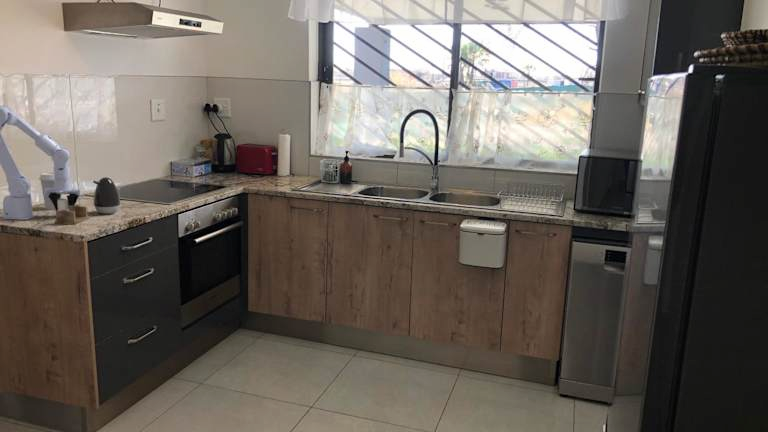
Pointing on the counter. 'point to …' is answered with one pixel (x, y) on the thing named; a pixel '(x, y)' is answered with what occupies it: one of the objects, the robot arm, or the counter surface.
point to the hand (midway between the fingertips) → (65, 211)
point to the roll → (62, 203)
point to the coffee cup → (48, 182)
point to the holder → (72, 215)
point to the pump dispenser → (106, 196)
